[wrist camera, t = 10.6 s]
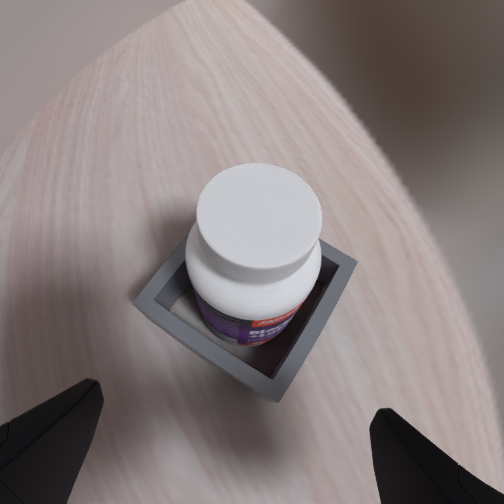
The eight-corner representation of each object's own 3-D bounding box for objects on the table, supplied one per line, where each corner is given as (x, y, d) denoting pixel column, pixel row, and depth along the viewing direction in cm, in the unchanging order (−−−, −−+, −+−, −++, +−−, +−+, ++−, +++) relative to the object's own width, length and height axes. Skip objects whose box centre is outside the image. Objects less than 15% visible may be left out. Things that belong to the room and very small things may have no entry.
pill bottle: (255, 366, 16) (279, 332, 8) (182, 309, 18) (136, 219, 9) (309, 295, 18) (370, 202, 10) (239, 246, 20) (245, 127, 11)
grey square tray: (270, 401, 16) (278, 402, 13) (147, 318, 17) (132, 303, 15) (341, 281, 19) (357, 261, 16) (228, 215, 21) (228, 187, 18)
